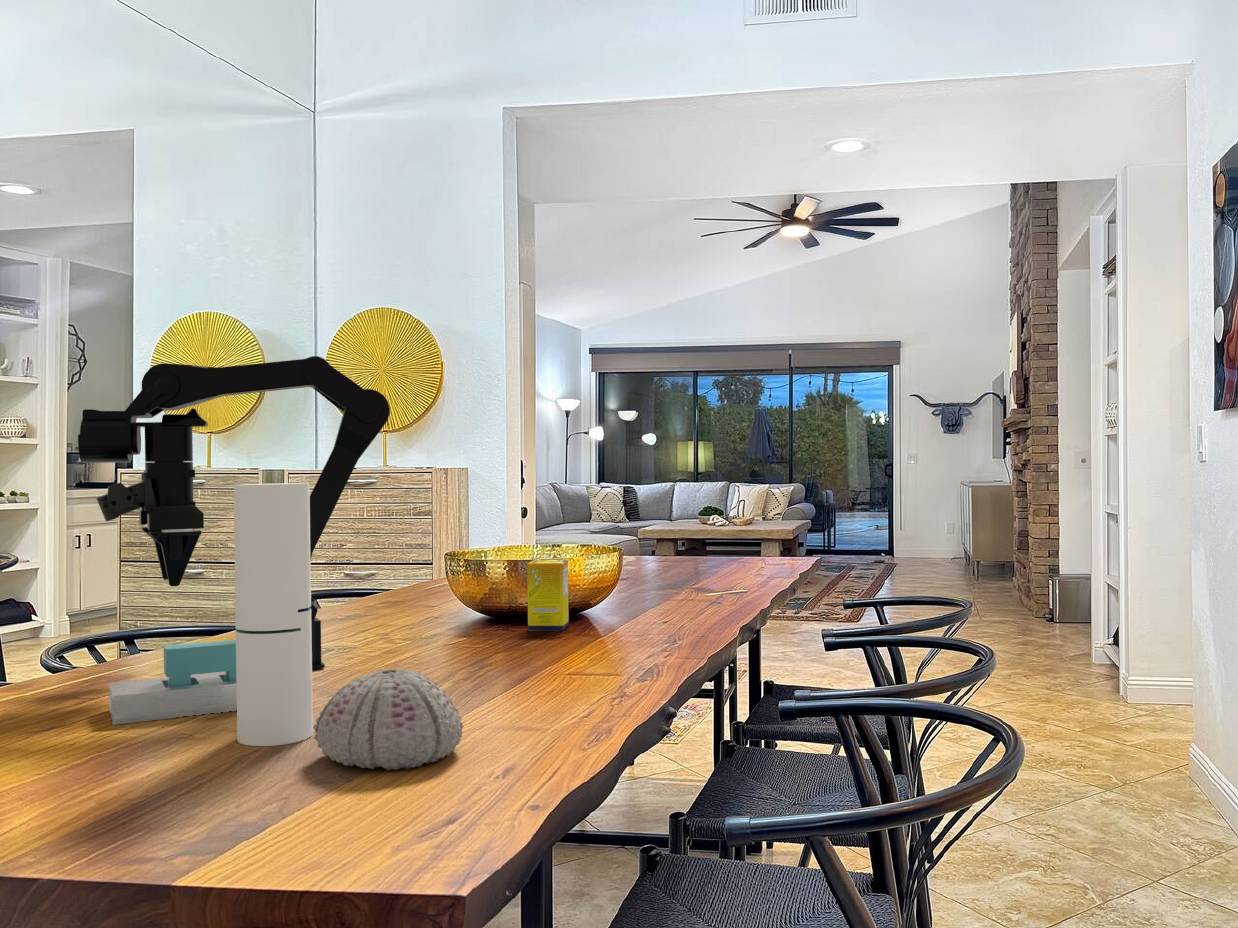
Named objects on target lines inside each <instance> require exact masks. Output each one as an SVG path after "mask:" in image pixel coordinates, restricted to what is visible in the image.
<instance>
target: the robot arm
mask: <svg viewBox="0 0 1238 928" xmlns="http://www.w3.org/2000/svg"><path fill="white" fill-rule="evenodd" d="M302 388H312V389H313V390H315V391H316V392H317V393H319V394H320V395H321V396H322V397H323V398H325V399H326V400H327V401H328V402H330V403H331V405H333V406H334V407H336V408H337V409H339V410H340V411H341V412H342V413H343V414H342V417H341V420H340V424H339V427H338V429H337V430H338V431H337V433H336V437H335V440H334V445H333V449H332V450H331V452H330V455H329V457H328V459H327V461H326V462H325V464H324V466H323V469H322V471H321V473H320V474H319V477H318V478H317V481H316V483H315V485H314V487H313V488H312V491H311V492H310V561H311V560H312V556H313V553H314V551H315V549H316V546H317V544H318V542H319V540H320V538H321V537H322V536H321V535H322V534H323V532H324V530H325V528H326V525H327V524H328V522H329V520H330V518H331V516H332V514H333V512H334V510H335V507H336V506H337V503H338V502H339V500H340V498H341V496H342V494H343V491H344V490H345V487H346V485H347V483H348V481H349V480H350V477H351V475H352V473H353V471H354V469H355V467H356V466H357V463H358V461H359V459H360V458H361V457H362V456H363V454H364V453H365V451H366V450H367V449H368V448H369V447H370V445H371V444H372V443H373V442H374V440H375V439H376V437H377V435H378V434H379V433H380V432H381V430H382V429H383V427H384V426H385V425H386V424H387V422H388V420H389V417H390V413H391V407H390V404H389V401H388V400H387V398H386V397H385V396H384V394H382V393H381V392H379V391H378V390H375V389H372V388H363V387H361V386H360V385H359V384H358V383H356V382H355V381H353V380H352V379H351V378H349V377H348V376H346V375H345V374H343V373H342V372H341V371H339V370H338V369H336V368H335V367H334V366H332V365H331V364H330V363H329V362H328V360H326V359H325V358H323V357H322V356H316V355H313V356H309V357H307V358H302V359H301V358H300V359H291V360H290V359H289V360H280V361H271V362H262V363H261V362H259V363H249V364H241V365H229V366H220V367H217V366H216V367H215V366H204V365H203V366H202V365H193V364H179V363H178V364H177V363H159V364H154V365H152V366H151V367H150V368H149V369H148V370H146V372H145V373H144V374H143V377H142V380H141V390H140V392H138V394H137V395H136V396H135V398H134V399H133V400H132V402H130V404H129V405H128V407H127V408H126V409H125V410H97V409H91V408H90V409H83V410H82V418H81V422H80V427H79V429H80V430H79V434H78V436H77V447H78V456H79V459H80V462H81V464H96V463H97V464H99V463H100V464H101V463H103V464H105V463H107V464H109V463H113V464H118V463H119V464H120V463H131V462H132V460H133V455H134V456H135V455H140V454H141V451H142V433H141V432H142V430H141V428H144V462H145V463H144V470H143V472H141V474H140V475H141V481H140V482H137V483H134V484H130V485H129V486H125V485H124V484H123V483H122V482H118V483H115V484H112V485H108V487H107V493H106V494H102V495H100V496H97V497H95V499H96V502H97V504H98V506H99V509H100V511H101V513H102V516H103V519H104V521H105V522H110V521H113V520H115V519H119V517H120V516H122V515H125V514H127V513H130V512H133V511H136V510H138V509H139V511H138V515H139V517H138V518H139V525H140V526H144V527H140V528H141V531H143V532H144V533H146V535H147V536H148V537H150V538H151V539H152V540H153V542H154V546H155V551H156V555H157V559H158V563H159V568H160V572H161V575H162V579H163V581H168V585H169V587H179V586H180V585H181V582H182V579H183V577H184V575H185V572H186V570H187V567H188V564H189V562H190V560H191V559H192V558H191V557H192V555H193V552H194V551H195V548H196V545H197V544H198V541H199V539H200V537H201V535H202V530H200V529H204V528H205V527H204V526H205V525H204V523H205V522H204V521H205V520H204V518H205V517H204V516H205V515H204V512H203V511H202V510H201V509H199V507H197V506H196V500H195V501H194V478H196V469H194V462H193V461H194V455H193V453H194V452H193V449H194V448H193V447H194V446H193V428H207V427H208V426H209V422H208V421H206V419H204V418H202V416H201V415H200V414H199V413H198V410H197V409H196V408H191V409H190V410H189V411H188V412H187V413H185V414H184V413H183V414H181V413H180V414H177V413H176V414H175V413H172V414H169V413H168V414H166V413H165V414H163V415H162V417H161V421H158V422H157V421H152V422H150V421H149V422H148V421H147V422H146V421H145V422H143V421H142V422H137V419H152V418H154V417H156V416H157V415H159V414H161V413H162V412H163V411H168V412H169V411H170V412H171V411H173V412H174V411H178V410H182V409H186V408H189V407H193V406H196V405H200V404H203V403H206V402H208V401H209V402H210V401H212V400H214V399H219V398H223V397H228V396H229V397H230V396H238V395H248V394H257V393H265V392H266V393H267V392H273V391H274V392H275V391H285V390H293V389H294V390H295V389H302ZM146 525H147V526H146ZM310 608H311V631H312V670H317V669H323V668H326V666H325V665H326V664H325V663H324V662H322V620H321V619H319V618H317V617H316V616H317V613H318V612H319V611H318V601H317V600H316V599H315V598H313V597H312V596H311V606H310Z"/></svg>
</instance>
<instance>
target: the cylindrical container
mask: <svg viewBox="0 0 1238 928" xmlns="http://www.w3.org/2000/svg"><path fill="white" fill-rule="evenodd" d="M310 494H311V492H310V483H307V482H304V483H303V482H302V483H301V482H298V483H297V482H296V483H294V482H291V483H288V482H287V483H286V482H284V483H243V484H242V483H241V484H233V523H234V524H233V528H234V530H233V531H234V532H233V535H234V537H233V538H234V541H233V542H234V543H233V544H234V605H235V606H234V609H235V610H234V611H235V613H234V614H235V616H234V617H235V622H234V623H235V640H236V687H237V711H236V736H237V737H236V739H237V743H238V744H241V745H245V746H251V747H272V746H273V747H275V746H283V745H289V744H290V745H291V744H295V743H298V742H299V743H300V742H302V740H303V741H305V740H307V738H308V739H310V738H311V737H312V736H313V735H314V728H313V727H314V721H313V720H314V718H313V717H314V715H313V714H314V712H313V710H314V708H313V706H314V705H313V704H314V703H313V669H312V631H311V608H310V606H311V597H312V589H311V588H312V585H311V584H312V580H311V579H312V578H311V576H312V574H311V572H312V571H311V570H312V568H311V560H310ZM309 737H310V738H309Z"/></svg>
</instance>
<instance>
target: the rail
mask: <svg viewBox="0 0 1238 928" xmlns="http://www.w3.org/2000/svg"><path fill="white" fill-rule="evenodd" d="M108 686H109V687H108V689H109V691H108V693H109V696H108V697H109V698H108V699H109V700H108V701H109V702H108V703H109V704H108V705H109V706H108V707H109V708H108V709H109V713H110V719H111V723H112V726H113V725H115V726H117V725H123V724H133V723H134V724H135V723H140V722H141V723H142V722H150V721H151V722H152V721H160V720H168V719H169V720H170V719H177V718H176V717H179V718H184V717H183V716H188V717H194V716H193V715H196V716H203V715H202V714H205V715H211V714H210V713H214V714H221V712H223V713H229V711H232V712H237V711H236V710H237V687H236V681H228V682H226V672H216V673H205V674H195V675H191V685H188V686H178V687H169V677H166V676H165V677H157V678H148V679H136V680H135V679H134V680H126V681H116V682H114V681H113V682H109V683H108Z"/></svg>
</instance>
